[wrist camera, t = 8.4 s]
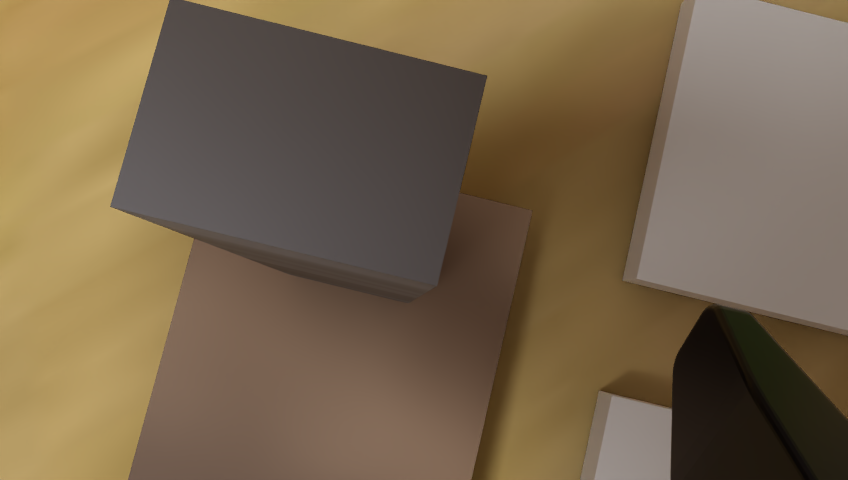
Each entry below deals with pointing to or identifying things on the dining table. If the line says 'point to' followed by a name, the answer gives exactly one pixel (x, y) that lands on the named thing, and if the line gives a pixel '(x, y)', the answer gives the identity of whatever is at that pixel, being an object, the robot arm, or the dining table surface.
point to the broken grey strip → (738, 193)
